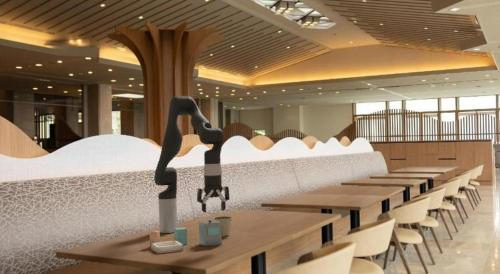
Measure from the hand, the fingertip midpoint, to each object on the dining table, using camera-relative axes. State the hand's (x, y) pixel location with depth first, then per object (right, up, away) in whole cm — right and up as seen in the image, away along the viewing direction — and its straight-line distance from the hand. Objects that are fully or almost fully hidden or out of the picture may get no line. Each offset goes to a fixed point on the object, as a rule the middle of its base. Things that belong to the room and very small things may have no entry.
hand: (213, 211), depth 224 cm
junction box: (-2, -16, +7) cm, 17 cm away
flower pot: (+3, -16, +28) cm, 32 cm away
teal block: (-16, -16, +10) cm, 25 cm away
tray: (-20, -16, -2) cm, 26 cm away
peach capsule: (-26, -17, +5) cm, 32 cm away
